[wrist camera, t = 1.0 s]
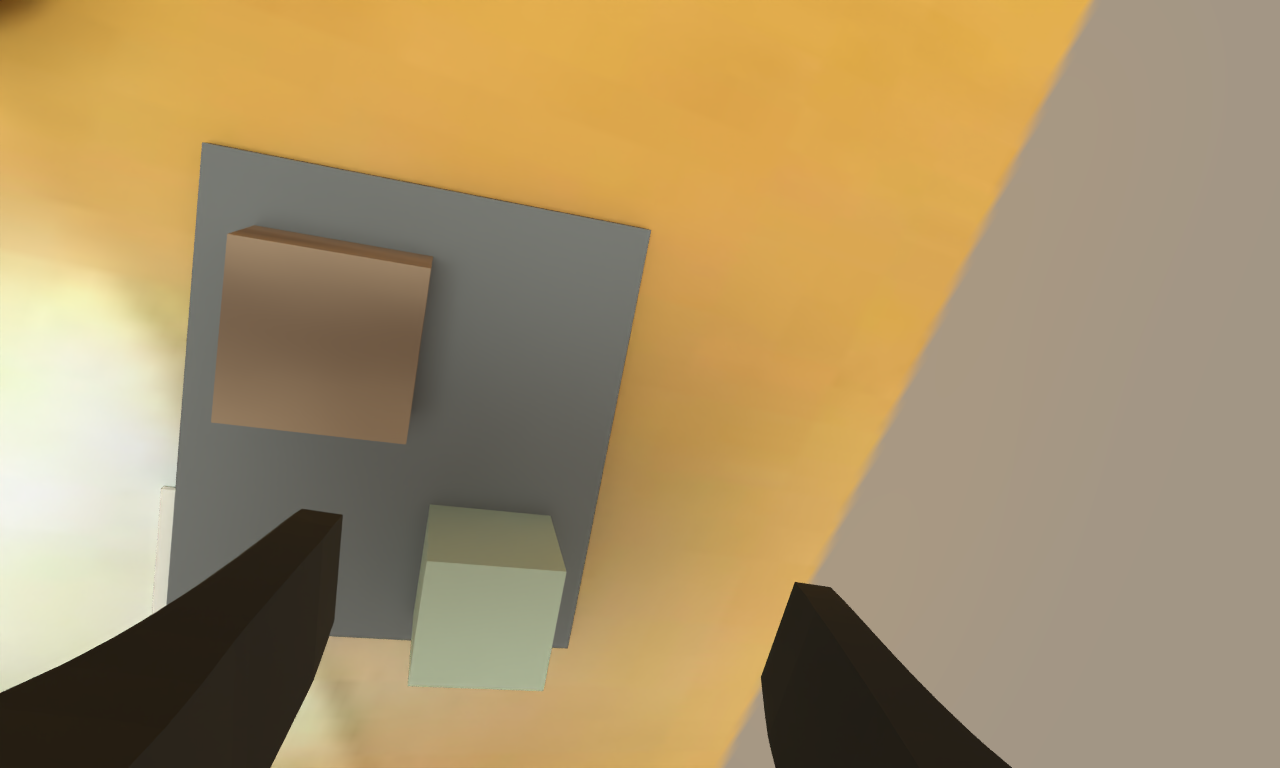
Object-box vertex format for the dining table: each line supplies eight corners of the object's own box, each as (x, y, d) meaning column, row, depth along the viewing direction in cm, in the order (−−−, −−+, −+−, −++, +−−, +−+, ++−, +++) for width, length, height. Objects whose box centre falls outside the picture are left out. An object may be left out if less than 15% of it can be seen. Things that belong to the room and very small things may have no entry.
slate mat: (565, 639, 29) (567, 648, 29) (170, 617, 26) (164, 627, 25) (646, 228, 26) (651, 230, 26) (208, 143, 23) (202, 142, 22)
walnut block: (410, 413, 25) (405, 444, 23) (238, 392, 24) (210, 422, 21) (432, 256, 24) (431, 268, 22) (254, 225, 23) (227, 233, 20)
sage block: (530, 620, 28) (543, 690, 25) (413, 614, 27) (407, 686, 24) (550, 515, 27) (566, 571, 24) (430, 504, 26) (426, 561, 23)
